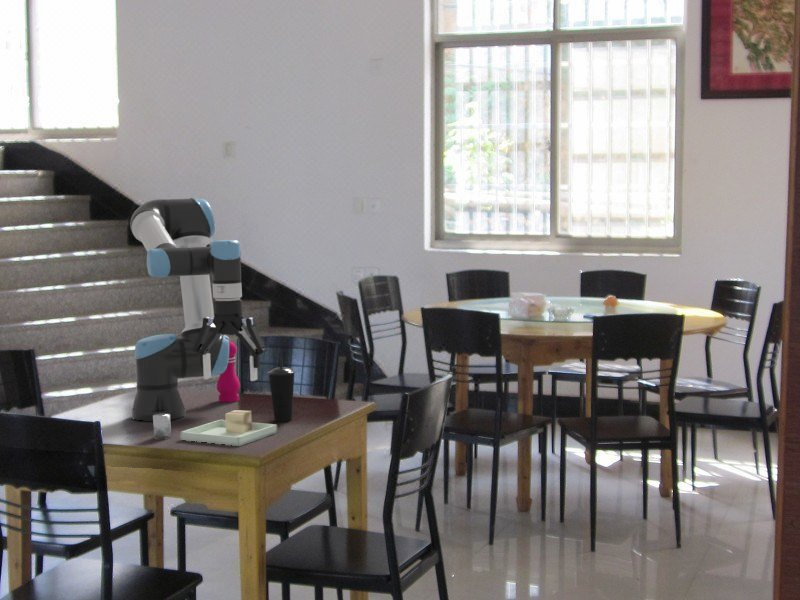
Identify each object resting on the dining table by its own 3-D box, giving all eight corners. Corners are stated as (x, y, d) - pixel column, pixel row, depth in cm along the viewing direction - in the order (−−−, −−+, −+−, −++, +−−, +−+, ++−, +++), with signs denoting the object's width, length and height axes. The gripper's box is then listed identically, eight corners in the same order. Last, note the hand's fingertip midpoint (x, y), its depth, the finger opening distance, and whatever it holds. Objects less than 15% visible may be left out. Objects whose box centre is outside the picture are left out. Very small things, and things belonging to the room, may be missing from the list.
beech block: (235, 428, 291) (234, 410, 291) (251, 429, 290) (251, 410, 289) (226, 432, 287) (225, 413, 286) (242, 433, 285) (242, 414, 285)
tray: (180, 440, 281) (179, 431, 281) (220, 427, 296) (220, 419, 296) (238, 446, 273) (238, 437, 272) (277, 432, 288) (277, 424, 287)
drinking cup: (271, 417, 309) (269, 347, 307) (298, 416, 308) (296, 346, 306) (267, 422, 301) (264, 351, 299) (295, 422, 301) (292, 350, 299)
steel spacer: (150, 438, 284) (149, 416, 284) (161, 435, 288) (160, 413, 288) (163, 440, 282) (162, 417, 282) (174, 436, 286) (173, 414, 286)
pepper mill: (221, 398, 341) (218, 335, 339) (243, 398, 340) (241, 334, 338) (214, 402, 334) (211, 338, 332) (236, 402, 333) (234, 337, 331)
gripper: (178, 300, 285) (181, 380, 287) (264, 301, 278) (267, 383, 280) (192, 297, 292) (195, 375, 295) (277, 298, 285) (279, 378, 287)
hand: (230, 379), depth 287 cm, fingers open, 13 cm apart
